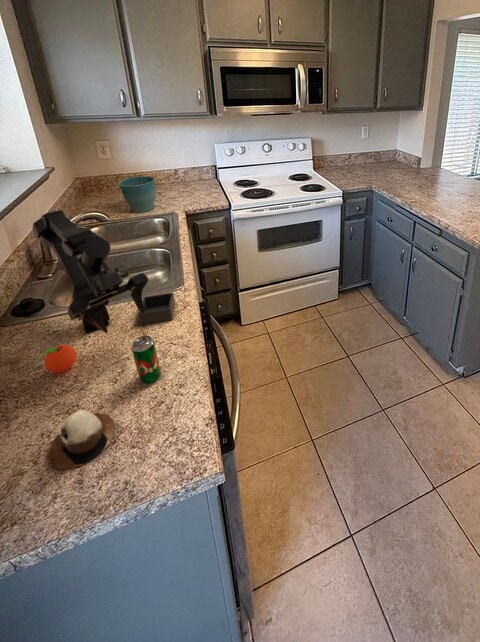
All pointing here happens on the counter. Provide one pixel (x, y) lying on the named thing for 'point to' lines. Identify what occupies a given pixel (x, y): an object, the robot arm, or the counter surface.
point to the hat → (81, 439)
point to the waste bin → (157, 308)
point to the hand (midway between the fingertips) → (125, 322)
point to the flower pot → (139, 193)
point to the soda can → (146, 359)
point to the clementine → (60, 358)
